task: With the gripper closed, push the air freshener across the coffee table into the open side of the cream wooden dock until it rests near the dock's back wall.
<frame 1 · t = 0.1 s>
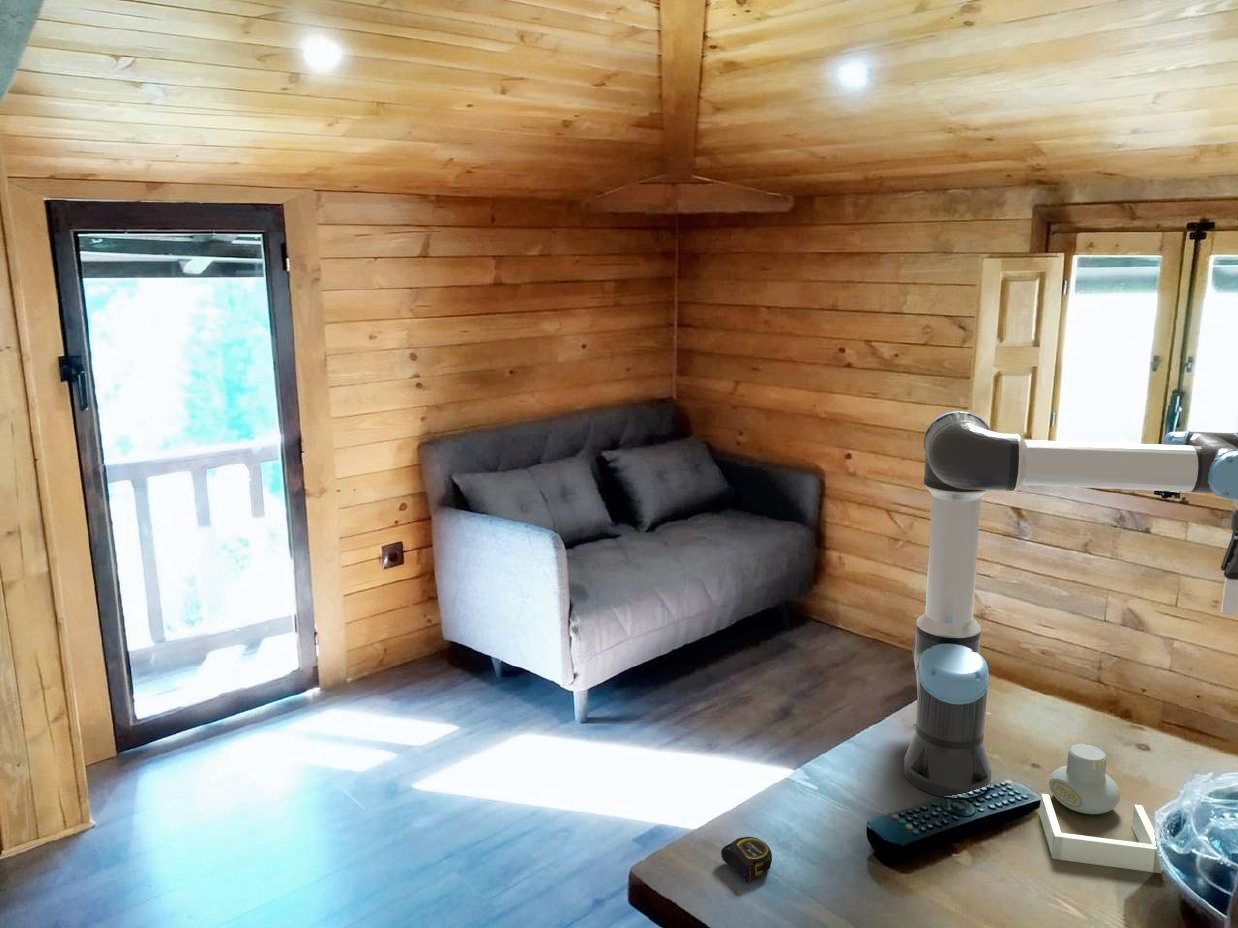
air freshener: (1082, 805, 162), on the table
dock: (1097, 841, 151), on the table
tape measure: (746, 872, 146), on the table
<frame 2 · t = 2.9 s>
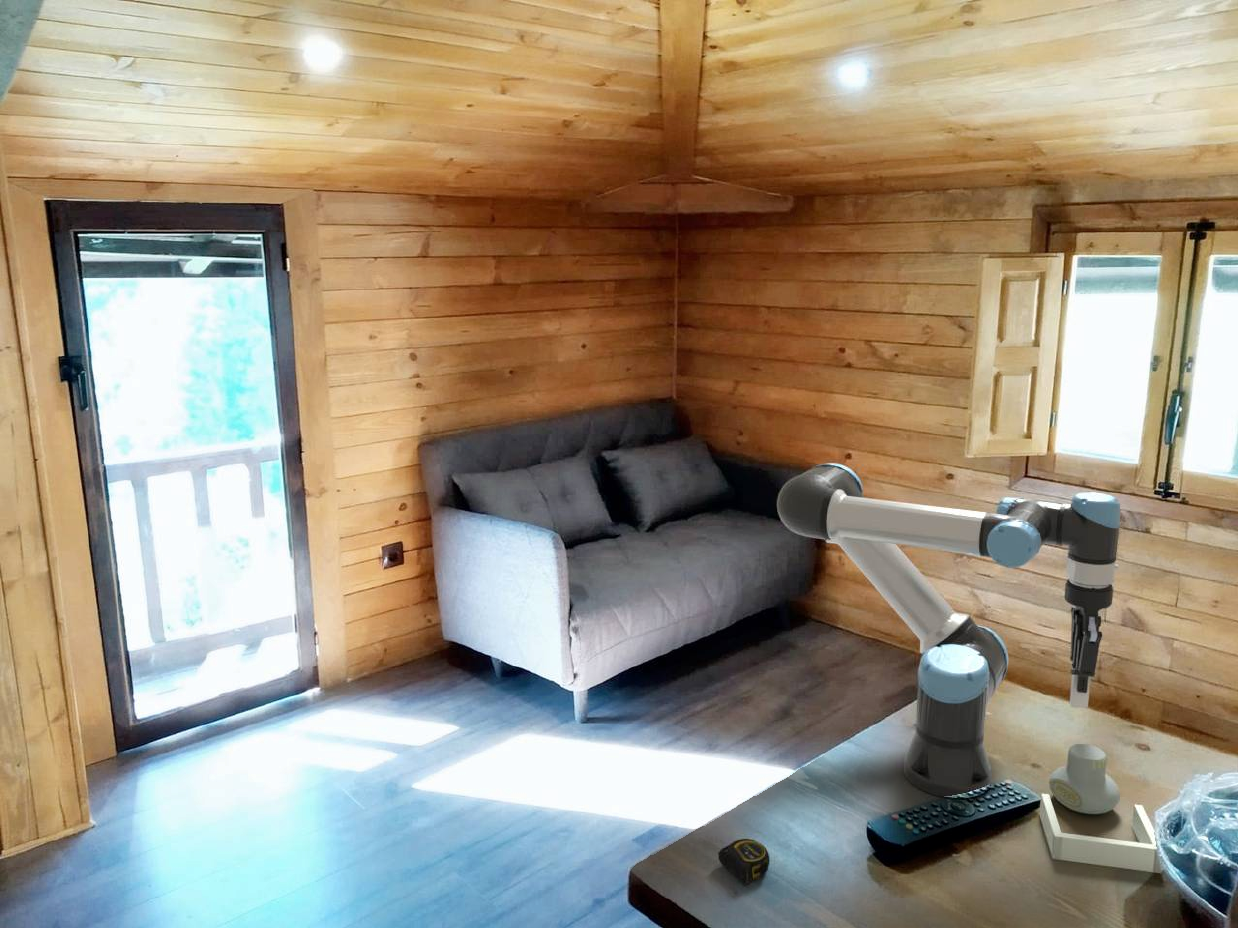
hand: (1078, 705, 169), 13 cm above the table, fingers closed
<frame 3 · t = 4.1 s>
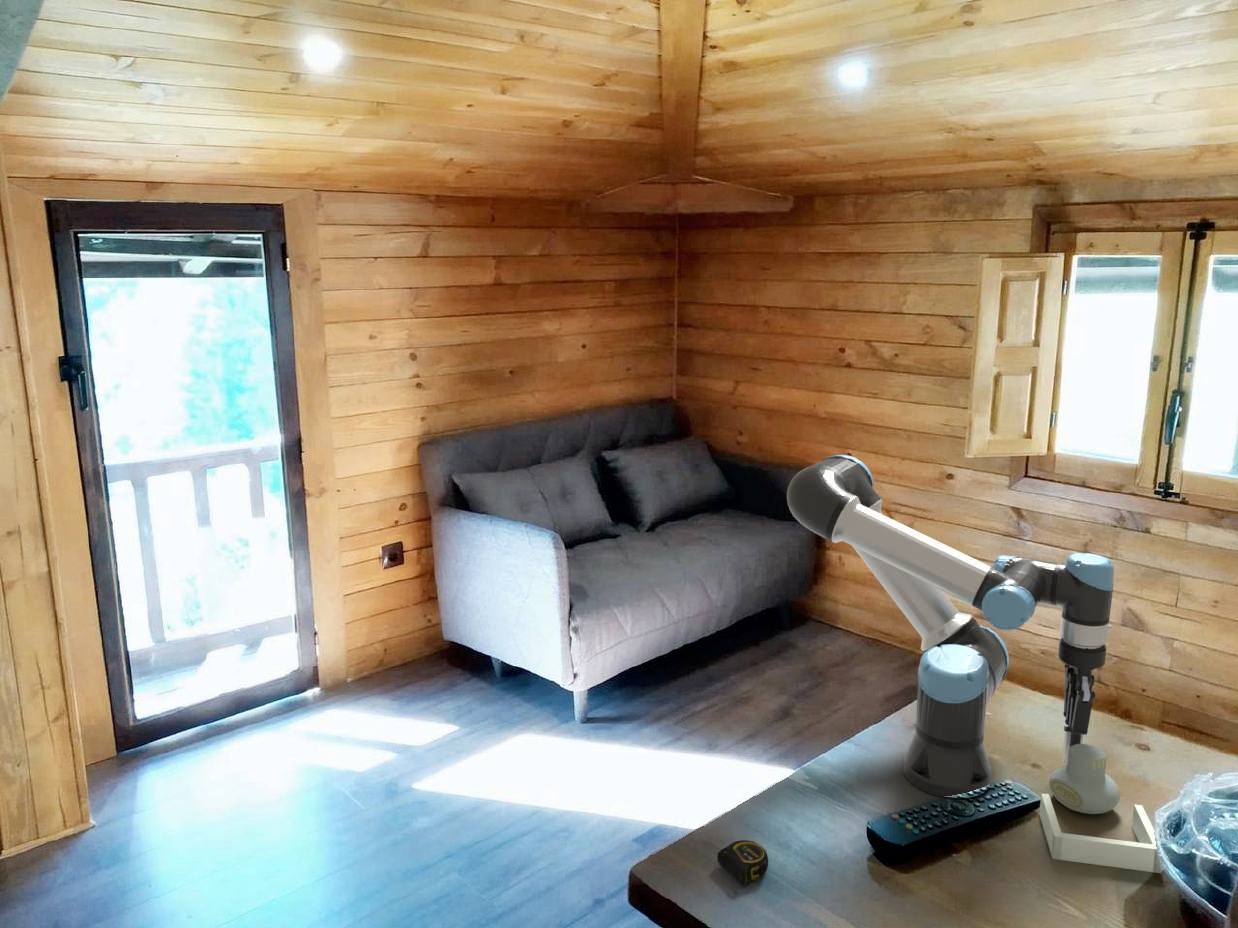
hand: (1071, 761, 171), 2 cm above the table, fingers closed
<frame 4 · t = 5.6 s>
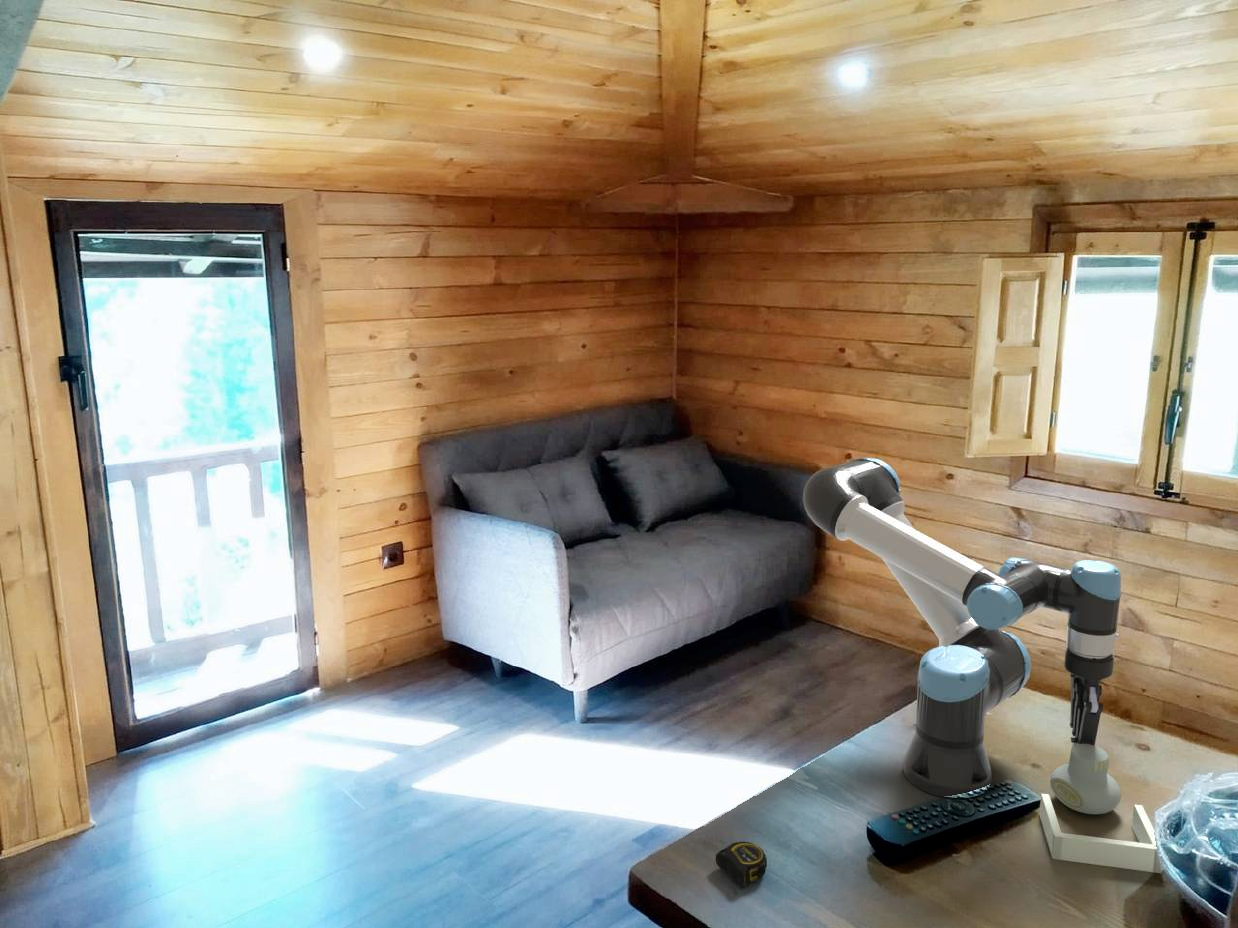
hand: (1078, 773, 167), 3 cm above the table, fingers closed
air freshener: (1082, 803, 162), on the table, touching gripper, hand
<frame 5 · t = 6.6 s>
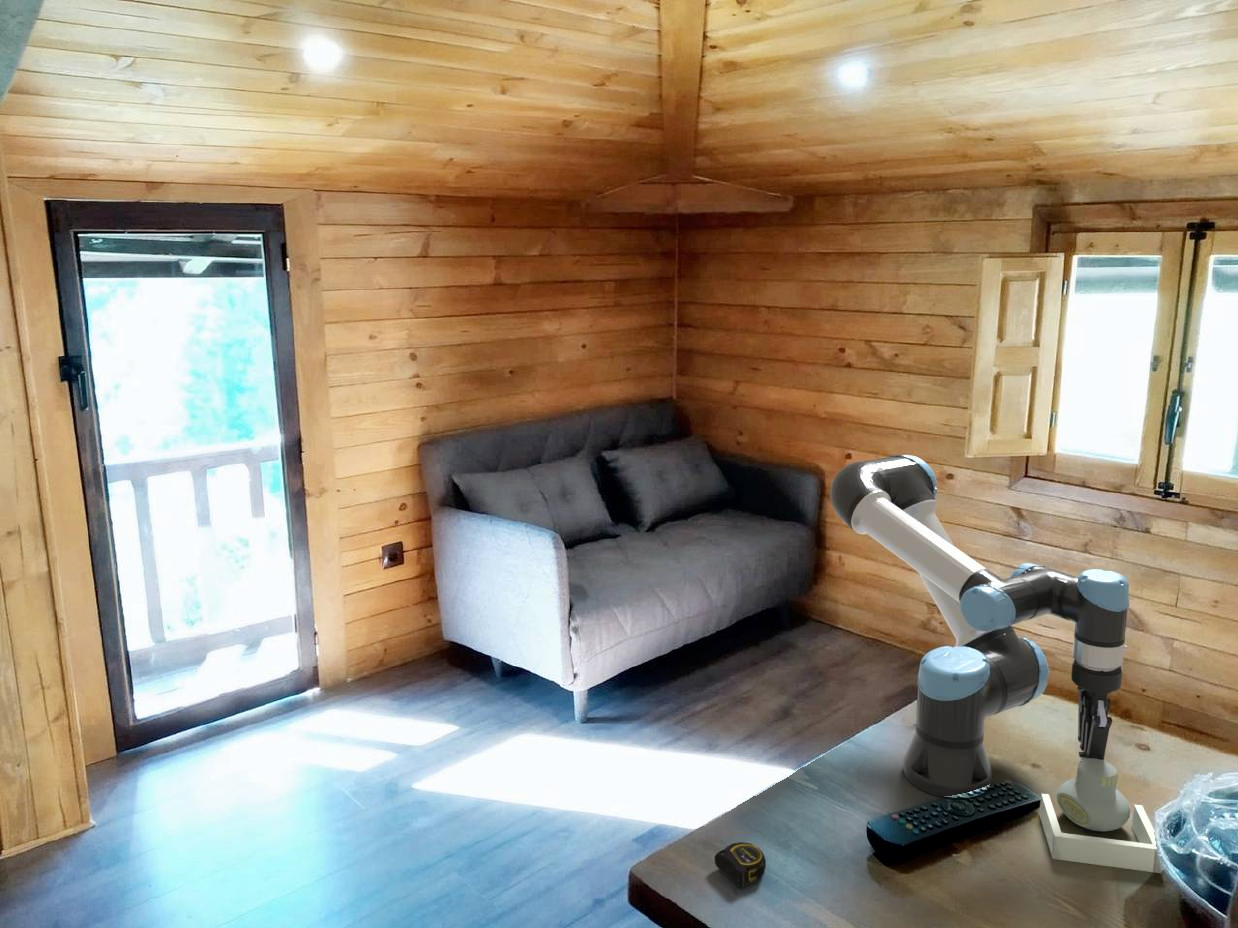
hand: (1087, 788, 162), 3 cm above the table, fingers closed
air freshener: (1090, 819, 157), on the table, touching gripper, hand
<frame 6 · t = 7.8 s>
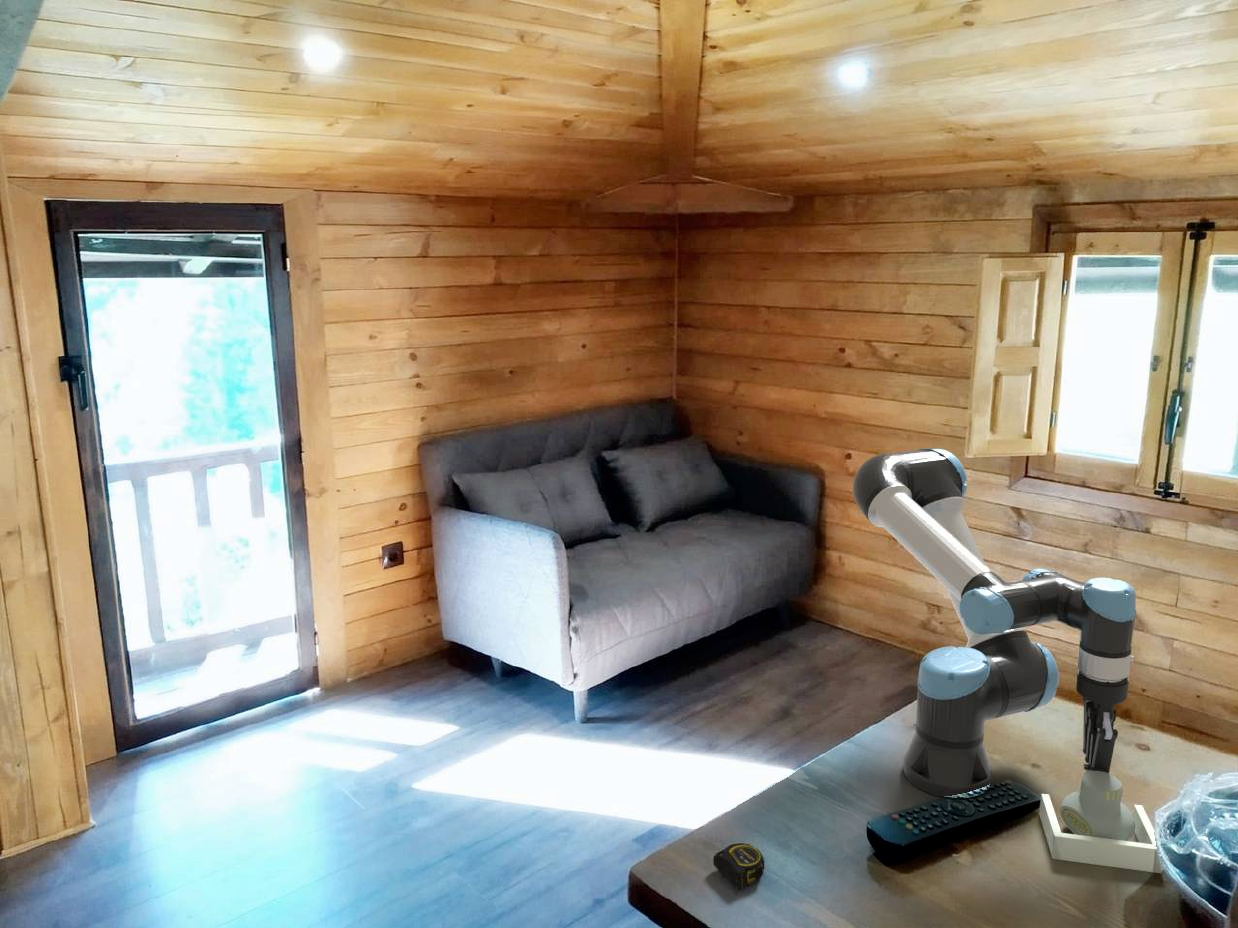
hand: (1092, 801, 158), 2 cm above the table, fingers closed
air freshener: (1094, 833, 153), on the table, touching gripper, hand
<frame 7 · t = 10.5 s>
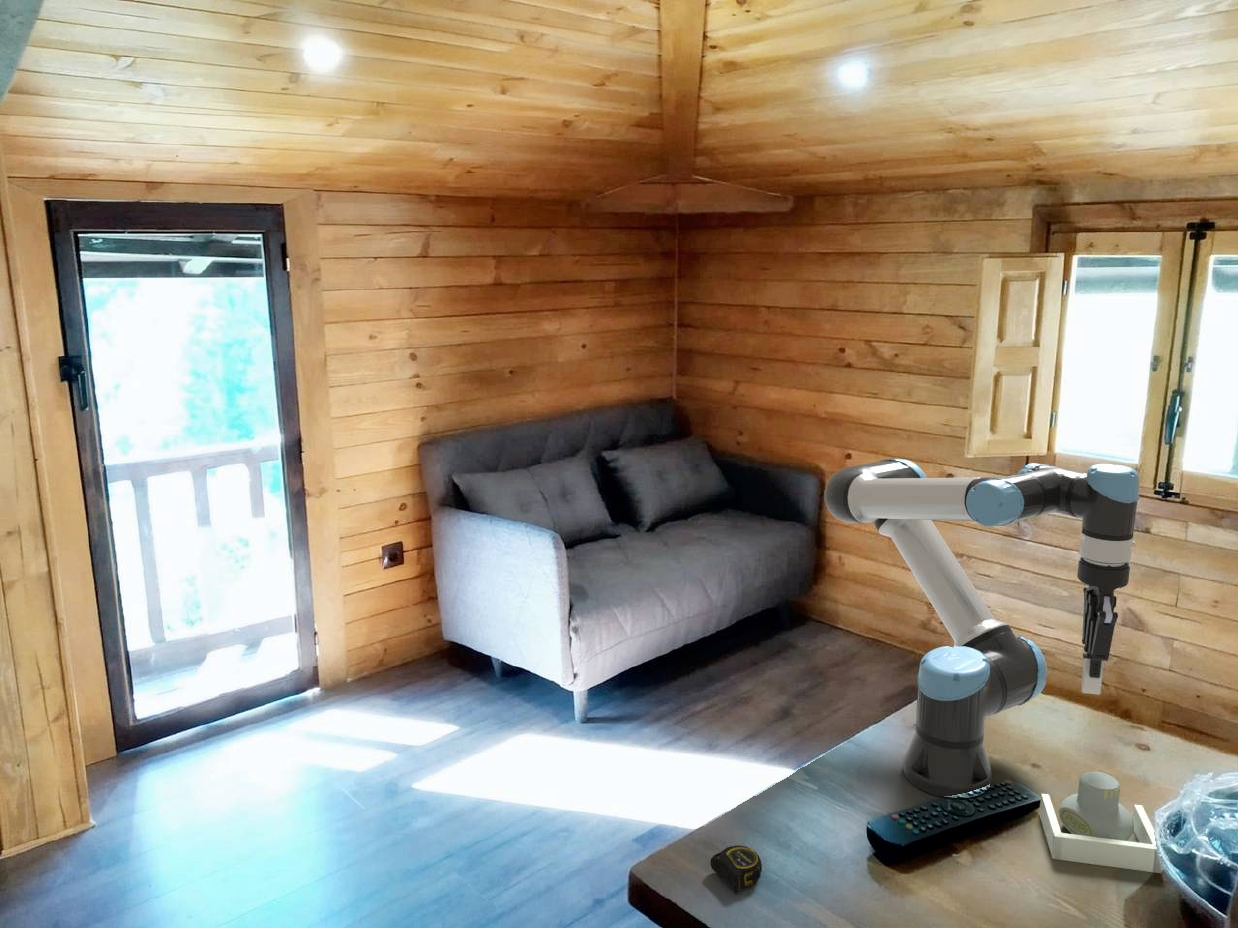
hand: (1090, 691, 158), 20 cm above the table, fingers closed
air freshener: (1094, 836, 153), on the table
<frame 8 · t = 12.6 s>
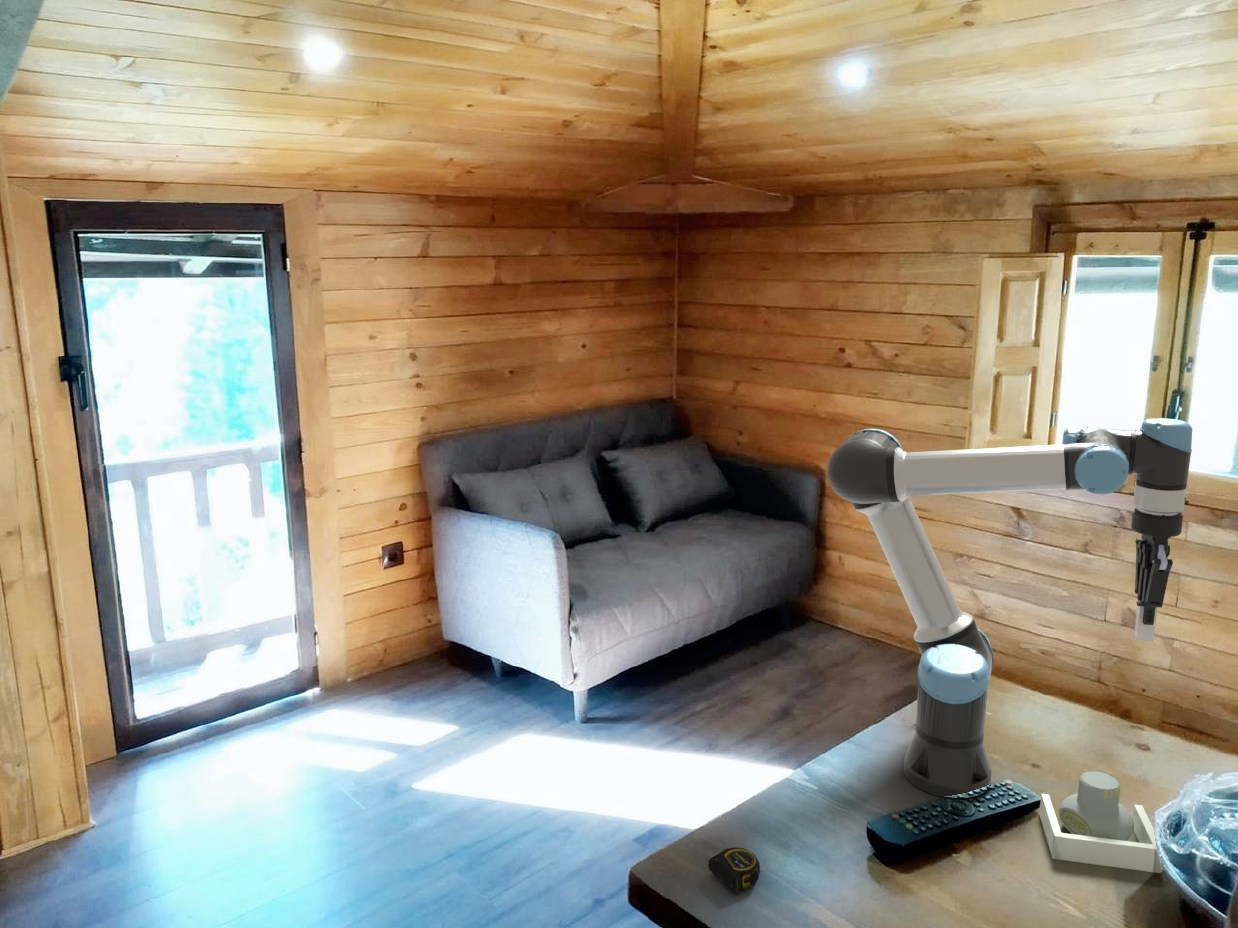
hand: (1143, 638, 165), 26 cm above the table, fingers closed
at the end: air freshener inside the target area (2.0 cm from its centre), on the table; air freshener tilted 0°; air freshener moved 9.0 cm from its start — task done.
